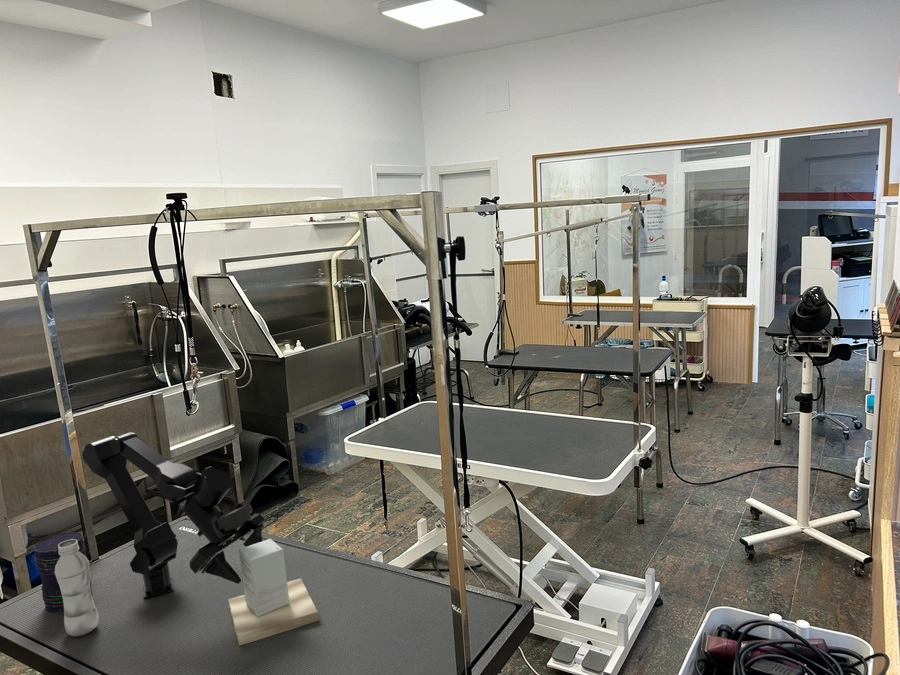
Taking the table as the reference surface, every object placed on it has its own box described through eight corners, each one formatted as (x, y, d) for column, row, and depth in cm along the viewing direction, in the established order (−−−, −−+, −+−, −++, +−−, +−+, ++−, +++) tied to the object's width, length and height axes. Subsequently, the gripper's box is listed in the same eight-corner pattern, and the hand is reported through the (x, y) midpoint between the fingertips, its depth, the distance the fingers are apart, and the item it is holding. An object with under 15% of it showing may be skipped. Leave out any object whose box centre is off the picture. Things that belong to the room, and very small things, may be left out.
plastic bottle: (64, 644, 136) (47, 553, 133) (68, 627, 142) (52, 540, 139) (99, 634, 138) (83, 545, 135) (101, 618, 144) (86, 533, 141)
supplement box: (277, 591, 146) (271, 537, 144) (290, 604, 140) (284, 548, 138) (244, 603, 142) (237, 548, 140) (256, 617, 136) (249, 560, 134)
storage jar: (45, 599, 155) (34, 540, 152) (92, 586, 160) (82, 528, 157) (44, 619, 146) (32, 556, 144) (94, 604, 151) (83, 543, 149)
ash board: (229, 607, 145) (228, 599, 144) (301, 586, 151) (300, 578, 151) (239, 645, 130) (238, 636, 130) (318, 620, 137) (317, 611, 137)
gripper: (192, 513, 132) (243, 571, 129) (253, 479, 149) (299, 530, 146) (168, 545, 136) (216, 602, 134) (230, 508, 153) (274, 558, 150)
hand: (254, 571), depth 141 cm, fingers open, 9 cm apart
